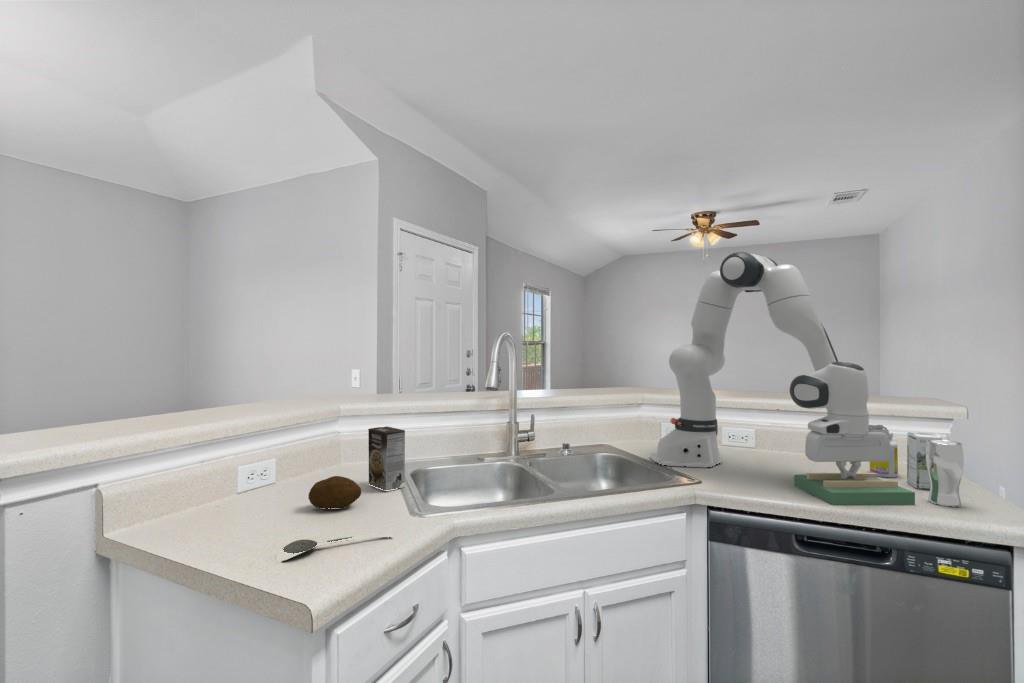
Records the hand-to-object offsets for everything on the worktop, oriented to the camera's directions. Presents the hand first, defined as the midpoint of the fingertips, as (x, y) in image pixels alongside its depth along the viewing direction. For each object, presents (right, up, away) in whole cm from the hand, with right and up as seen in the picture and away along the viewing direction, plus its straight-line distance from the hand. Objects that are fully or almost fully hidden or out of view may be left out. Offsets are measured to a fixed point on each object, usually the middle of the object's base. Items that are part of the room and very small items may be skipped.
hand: (848, 478), depth 125 cm
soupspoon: (-122, -6, -30) cm, 126 cm away
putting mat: (+1, -4, 0) cm, 4 cm away
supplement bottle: (+23, -4, +18) cm, 29 cm away
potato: (-130, -5, -8) cm, 131 cm away
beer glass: (+19, -4, -7) cm, 20 cm away
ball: (+6, -2, 0) cm, 7 cm away
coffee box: (-122, -5, +9) cm, 123 cm away
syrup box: (+25, -4, +6) cm, 26 cm away
